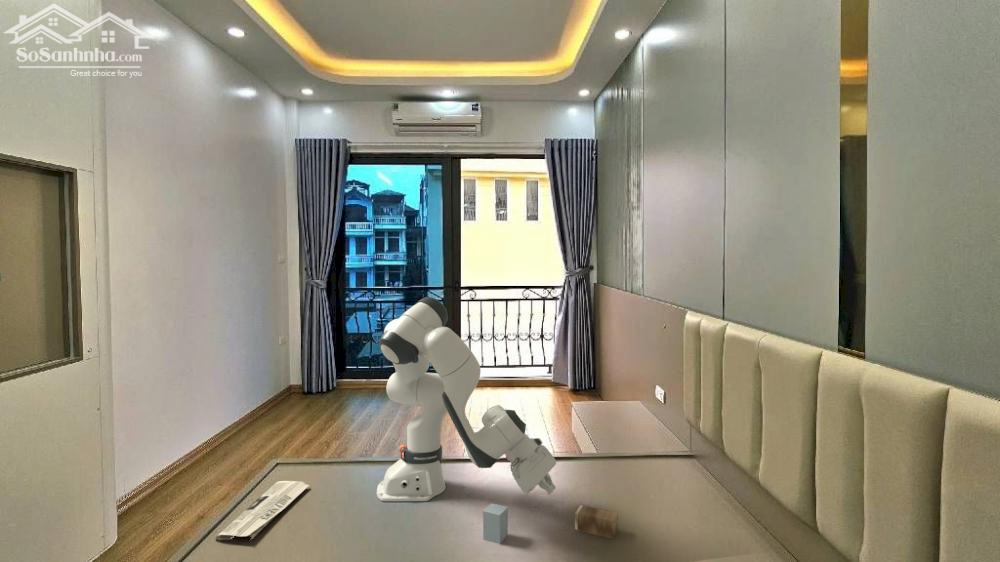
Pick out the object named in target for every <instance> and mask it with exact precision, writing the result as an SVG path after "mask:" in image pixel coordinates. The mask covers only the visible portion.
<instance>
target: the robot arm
mask: <svg viewBox="0 0 1000 562" xmlns="http://www.w3.org/2000/svg"><path fill="white" fill-rule="evenodd" d="M448 320H449V313H448V310H447V308H446V306H445V305H444V304H443V303H442V302H441V301H440V300H438V299H437V298H435V297H430V296H426V297H423V298H422V299H420V300H417V302H415V304H414V305H412V306H411V307H410V308H409V309H407V310H406V311H404V313H402V314H401V315H400V317H399V318H394V319H392V320H390V321H389V322H388V323H387V324H386V326H385V327H384V329H383V334H382V335H381V337H380V338H379V339H378V340H379V341H378V346H379V349H380V352H381V353H382V354H383V355H384V357H385V358H386V359H387V360H388V361H390V362H391V363H392V365H393V366H394V367H393V368H394V369H395V372H394V373H392V374H391V375H390V376H389V378H388V380H387V383H386V386H385V388H386V391H385V392H386V395H387V398H389V400H390V401H392V402H395V403H398V404H401V405H405V406H414V407H415V406H417V407H422V412H421V414H419V415H416V416H415V417H413V418H412V419H410V421H408V424H407V427H406V446H405V445H404V444H401V445H400V446H399V452H400V458H399V459H398V460H397V461H396V462H394V463H393V464H392V465H390V466H389V467H388V468H387V470H386V471H385V474H384V477H383V480H382V481H380V482H379V483H378V485H377V486H376V487H377V488H376V497H377V498H378V499H379V500H380V501H381V502H428V501H430V500H431V499H433V498H434V497H436V496H438V495H440V494H441V493H443V492H445V490H446V488H447V486H446V483H445V480H444V473H443V467H442V466H443V465H442V463H443V446H442V444H441V443H442V442H441V439H442V437H441V436H442V425H443V421H444V418H445V416H446V414H448V415H449V417H450V419H451V422H452V424H453V425H454V427H455V429H456V432H457V433H458V435H459V437H460V438H461V440H462V443H463V444H464V447H465V450H466V453H467V456H468V458H469V459H470V461H471V463H472V464H474V465H475V466H476V467H477V469H478V468H479V469H490V468H492V467H493V466H494V465H495V464H496V463H497V462H498V461H499V459H500V458H501V457H503V456H504V455H505V458H506V457H507V458H508V459H509V460H510V461H509V462H510V464H509V466H510V471H511V475H512V477H513V479H514V480H515V483H516V484H517V485H518V487H519V488H520V489H521V491H522V492H523V493H525V494H529V493H530V492H532V491H533V490H534V489H535V488H536V487H537V486H538V487H539V488H541V489H542V490H544V491H545V492H546V493H547V494H549V495H551V494H552V493H553V492H555V490H556V487H557V486H556V485H555V483H554V481H553V479H552V477H551V475H550V473H549V472H551V471H552V469H553V468H554V467H555V466H556V465H557V461H556V459H555V457H554V456H553V454H552V453H551V452H550V451H549V449H548V448H547V447H546V446H545V445H543V441H542V440H541V438H539V437H533V438H532V437H531V438H530V437H529V436H528V435H527V434H526V427H527V425H526V423H525V422H524V421H523V420H522V418H520V416H519V414H517V412H516V410H515V409H504V407H502V406H501V405H500V404H496V405H494V406H492V407H490V408H489V409H488V410H486V412H485V413H484V414H483V415H482V417H481V423H482V424H483V427H482V428H480V429H479V430H478V431H476V432H475V431H474V429H473V427H472V426H471V424H470V421H469V419H468V417H467V415H466V406H467V403H468V401H469V399H470V398H471V395H472V394H473V393H474V391H475V389H476V388H477V386H478V383H479V381H480V378H481V365H480V363H479V361H478V359H477V358H476V356H475V354H474V353H473V352H472V351H471V349H470V348H469V346H468V345H467V344H466V343H465V342H464V341H463V339H462V338H461V337H460V336H459V335H458V334H457V333H455V331H453V329H452V328H449V327H447V326H446V324H447V322H448ZM430 364H431V366H432V367H433V369H434V370H435V372H427V371H428V370H429V367H430Z"/></svg>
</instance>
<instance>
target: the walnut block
mask: <svg viewBox="0 0 1000 562" xmlns="http://www.w3.org/2000/svg"><path fill="white" fill-rule="evenodd" d="M618 522H619V515H618V513H617V512H614V511H608V510H604V509H599V508H595V507H590V506H587V505H586V506H585V505H579V507H578V508H577V509H576V511H575V512H574V530H575V529H577V530H576V531H578V530H580V531H579V532H582V531H583V533H586V532H587V534H592V535H594V536H595V535H596V536H599V537H603V538H607V539H611V540H613V539H614V538H615V536H616V535H617V533H618V530H619V528H618V527H619V526H618V524H619V523H618Z"/></svg>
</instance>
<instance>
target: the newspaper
mask: <svg viewBox="0 0 1000 562" xmlns="http://www.w3.org/2000/svg"><path fill="white" fill-rule="evenodd" d="M308 487H310V484H307V483H306V482H304V481H296V480H282V481H281V480H280V481H276V482H275V483H274V484H273V485H272V486H271V487H270V488H269V489H268V490H266V491H265V492H264V493H263V494H262V495H261V496H259V498H257V499H256V500H255V501H254V502H253V503H252V504H250V505H249V506H248V507H247V508H246V509H245V510H244V511H243V512H241V514H240V515H238V516H237V517H236V518H235V519H234V520H233V521H232V522H231V523H230V524H229V525H227V526H226V527H225V528H224V529H223V530H222V531H221V532H220V533H218V534H217V536H216V537H215V538H214V540H215V541H221V540H230V538H231V537H233V536H236V537H249V538H250V537H251V538H250V541H252V540H253V539H254V538H255V537H256V536H257V535H258V534H259V533H260V532H261V531H262V530H263V529H264V528H265V527H266V526H267V525H268V524H269V523H270V522H271V521H272V520H273V519H274V518H275V517H276V516H277V515H278V514H279V513H280V512H282V511H283V510H284V509H286V508H287V507H288V506H289V505H290V504H291V503H292V502H293V501H294V500H295V499H297V497H299V496H300V495H301V494H302V493H303V492H304V491H305V490H306V489H307V488H308Z"/></svg>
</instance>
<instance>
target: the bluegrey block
mask: <svg viewBox="0 0 1000 562" xmlns="http://www.w3.org/2000/svg"><path fill="white" fill-rule="evenodd" d="M508 512H509V509H508V506H505V505H500V504H496V503H490V504H489V505H488V506H487V507H486V508H485V509H484V510H483V511H482V513H483V516H482V517H483V520H482V521H483V522H482V524H483V528H482V529H483V531H482V535H483V536H482V538H483V540H484V541H487V542H492V543H494V544H497V545H500V544H501V543H502V542H503V541H504V540H505V539H506V538H507V537H508V531H509V530H508V527H509V524H508V522H509V519H508V518H509V517H508Z"/></svg>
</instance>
